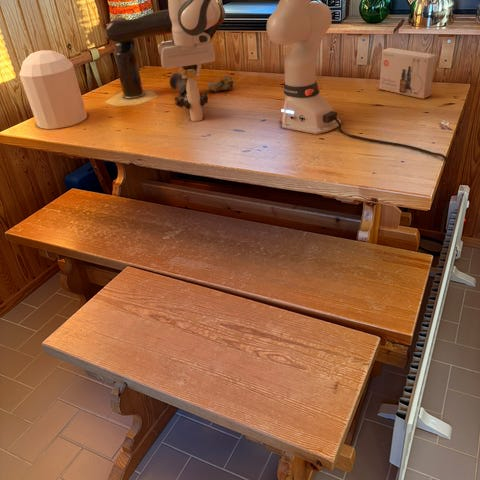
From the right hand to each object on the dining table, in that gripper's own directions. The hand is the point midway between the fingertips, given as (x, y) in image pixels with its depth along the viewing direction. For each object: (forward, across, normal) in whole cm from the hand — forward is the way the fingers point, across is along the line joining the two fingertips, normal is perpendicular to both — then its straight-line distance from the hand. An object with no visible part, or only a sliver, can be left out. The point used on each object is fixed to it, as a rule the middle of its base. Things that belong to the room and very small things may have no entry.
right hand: (190, 77), depth 175 cm
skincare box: (+16, +84, -12) cm, 87 cm away
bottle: (+16, 0, 0) cm, 16 cm away
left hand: (+10, 0, -3) cm, 10 cm away
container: (+16, -53, +27) cm, 62 cm away
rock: (+16, +18, +33) cm, 41 cm away
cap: (-2, 0, 0) cm, 2 cm away
